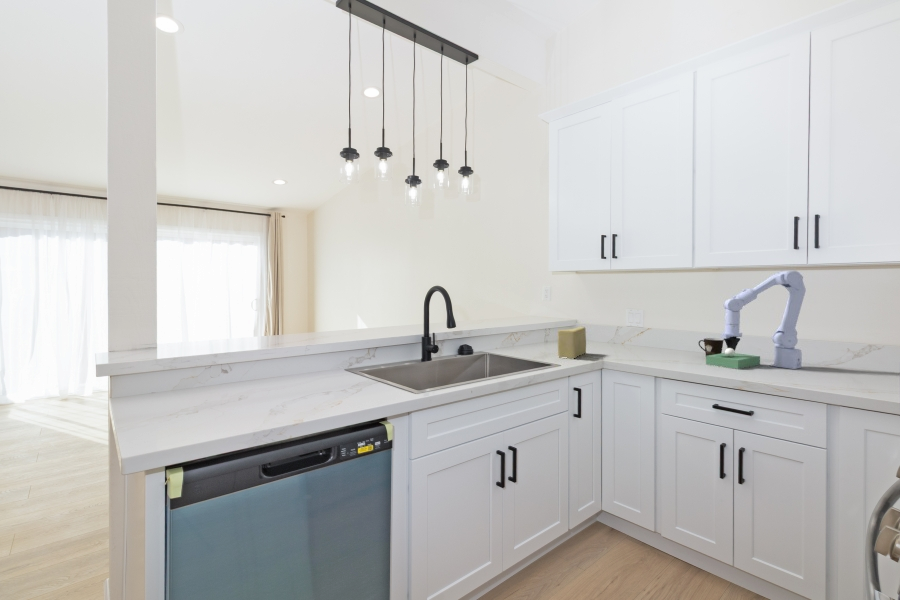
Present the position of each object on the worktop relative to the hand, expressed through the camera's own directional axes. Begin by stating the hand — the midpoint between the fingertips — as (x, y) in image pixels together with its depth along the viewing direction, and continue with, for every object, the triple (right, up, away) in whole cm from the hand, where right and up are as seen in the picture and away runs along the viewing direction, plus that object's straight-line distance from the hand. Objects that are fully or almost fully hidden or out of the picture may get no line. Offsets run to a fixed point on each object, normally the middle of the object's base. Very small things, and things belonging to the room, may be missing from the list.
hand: (731, 352), depth 200 cm
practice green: (+1, -6, 0) cm, 6 cm away
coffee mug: (+2, -5, +18) cm, 19 cm away
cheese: (-66, -5, +28) cm, 71 cm away
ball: (-1, 0, -1) cm, 2 cm away
